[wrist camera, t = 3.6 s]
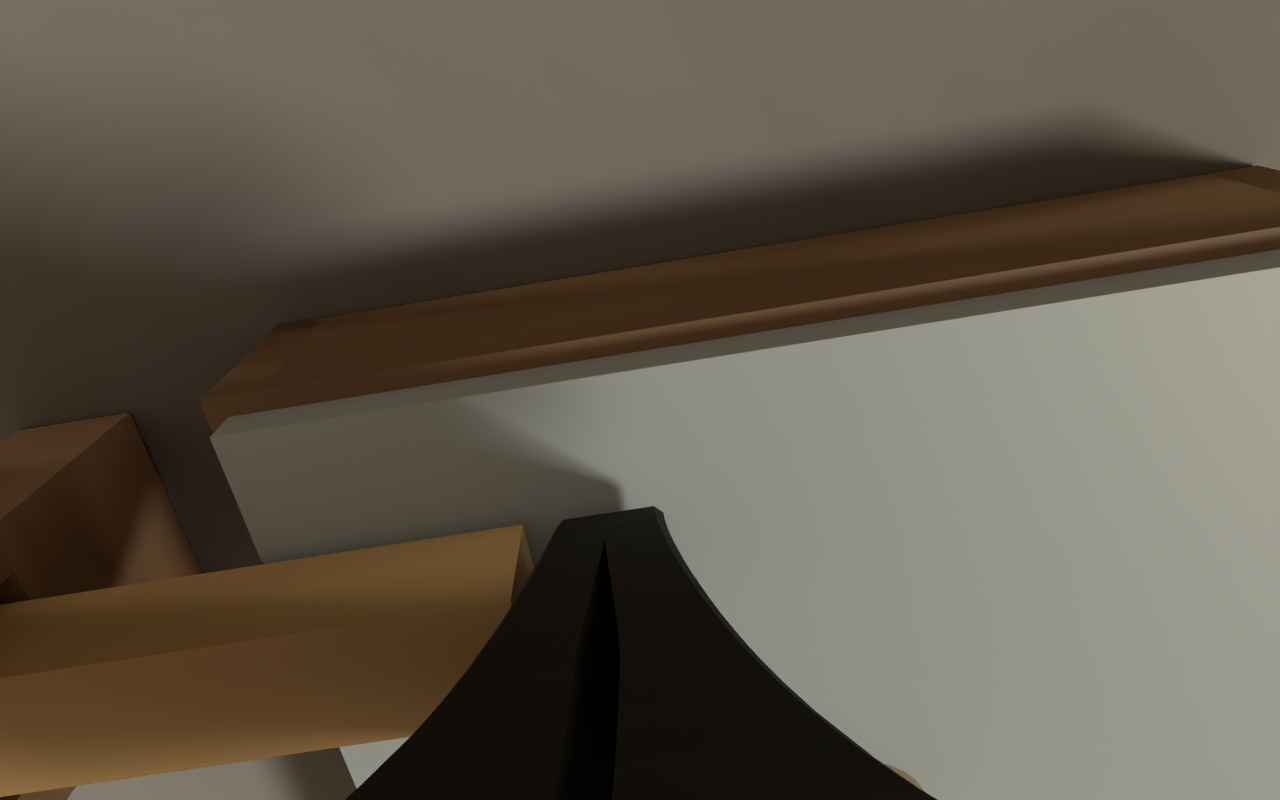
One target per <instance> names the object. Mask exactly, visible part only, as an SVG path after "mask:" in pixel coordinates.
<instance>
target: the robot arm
mask: <svg viewBox="0 0 1280 800" xmlns="http://www.w3.org/2000/svg"><path fill="white" fill-rule="evenodd" d="M345 800H938V799H936V798H934V797H932V796H931V795H929V794H927V793H926V792H924V791H923V790H921V789H919V788H918V787H916V786H915V785H914V784H912V783H911V782H909V781H908V780H906V779H905V778H903V777H902V776H901V775H899V774H898V773H896V772H895V771H893V770H892V769H890V768H889V767H887V766H886V765H885V764H883V763H882V762H880V761H879V760H877V759H876V758H874V757H873V756H872V755H871V754H869V753H868V752H867V751H865V750H864V749H863V748H862V747H860V746H859V745H858V744H857V743H855V742H854V741H853V740H852V739H850V738H849V737H848V736H847V735H845V734H844V733H843V732H841V731H840V730H839V729H838V728H836V727H835V726H834V725H833V724H831V723H830V722H829V721H828V720H826V719H825V718H824V717H822V716H821V715H820V714H819V713H817V712H816V711H815V710H814V709H813V708H811V707H810V706H809V705H808V704H807V703H806V702H805V701H804V700H803V699H802V698H800V697H799V696H798V695H797V694H796V693H795V692H794V691H793V690H792V689H791V688H790V687H788V686H787V685H786V684H785V683H784V682H783V681H782V680H781V679H780V678H779V677H778V676H777V675H776V674H775V673H774V672H773V671H772V670H771V669H770V668H769V667H768V666H767V665H766V664H765V663H764V662H763V661H762V660H761V659H760V658H759V657H758V656H757V655H756V653H755V652H754V651H753V650H752V649H751V648H750V647H749V646H748V645H747V644H746V642H745V641H744V640H743V639H742V638H741V637H740V636H739V634H738V633H737V632H736V631H735V630H734V628H733V627H732V626H731V625H730V624H729V622H728V621H727V620H726V619H725V617H724V616H723V615H722V614H721V613H720V611H719V610H718V609H717V607H716V606H715V605H714V603H713V602H712V601H711V599H710V598H709V597H708V595H707V594H706V592H705V591H704V589H703V588H702V586H701V585H700V584H699V582H698V581H697V579H696V578H695V576H694V575H693V573H692V572H691V570H690V569H689V567H688V566H687V564H686V562H685V561H684V559H683V557H682V556H681V554H680V552H679V550H678V548H677V547H676V545H675V543H674V541H673V539H672V537H671V535H670V532H669V530H668V528H667V525H666V522H665V518H664V513H663V512H662V511H661V510H659V509H658V508H656V507H655V506H651V507H644V508H638V509H631V510H624V511H618V512H611V513H604V514H598V515H591V516H585V517H578V518H571V519H565V520H562V522H561V523H560V524H559V525H558V527H557V528H556V530H555V532H554V534H553V535H552V537H551V539H550V541H549V543H548V545H547V547H546V549H545V550H544V552H543V554H542V556H541V558H540V559H539V561H538V563H537V565H536V566H535V568H534V570H533V572H532V573H531V575H530V577H529V578H528V580H527V582H526V584H525V585H524V587H523V588H522V590H521V592H520V593H519V595H518V596H517V598H516V599H515V601H514V603H513V604H512V606H511V607H510V609H509V611H508V612H507V614H506V615H505V617H504V618H503V620H502V621H501V623H500V624H499V626H498V627H497V629H496V630H495V632H494V633H493V634H492V636H491V637H490V639H489V640H488V641H487V643H486V644H485V646H484V647H483V648H482V650H481V651H480V653H479V654H478V655H477V657H476V658H475V659H474V661H473V662H472V664H471V665H470V666H469V668H468V669H467V670H466V672H465V673H464V674H463V676H462V677H461V678H460V679H459V681H458V682H457V683H456V684H455V686H454V687H453V688H452V689H451V691H450V692H449V693H448V694H447V696H446V697H445V698H444V699H443V700H442V702H441V703H440V704H439V705H438V706H437V707H436V709H435V710H434V711H433V712H432V713H431V714H430V715H429V717H428V718H427V719H426V720H425V721H424V722H423V723H422V725H421V726H420V727H419V728H418V729H417V730H416V731H415V732H414V733H413V734H412V735H411V736H410V738H409V739H407V740H406V741H405V742H404V743H403V744H402V745H401V746H400V747H399V748H398V749H397V750H396V751H395V752H394V753H393V754H392V755H391V756H390V757H389V758H388V759H387V760H386V761H385V762H384V763H383V764H382V765H381V766H380V767H379V768H378V769H377V770H376V771H375V772H374V773H373V774H372V775H371V776H370V777H369V778H368V779H366V780H365V781H364V782H363V783H362V784H361V785H360V786H359V787H358V788H357V789H356V790H355V791H354V792H353V793H352V794H351V795H350V796H349V797H348V798H346V799H345Z"/></svg>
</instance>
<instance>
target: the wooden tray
mask: <svg viewBox="0 0 1280 800" xmlns="http://www.w3.org/2000/svg"><path fill="white" fill-rule="evenodd" d="M1278 249H1280V171H1279V170H1274V169H1270V168H1266V167H1261V166H1252V167H1246V168H1240V169H1234V170H1227V171H1221V172H1215V173H1209V174H1203V175H1197V176H1191V177H1184V178H1178V179H1172V180H1166V181H1160V182H1154V183H1147V184H1141V185H1135V186H1129V187H1123V188H1117V189H1111V190H1104V191H1098V192H1092V193H1086V194H1080V195H1074V196H1068V197H1061V198H1055V199H1049V200H1043V201H1037V202H1031V203H1025V204H1018V205H1012V206H1006V207H1000V208H994V209H988V210H981V211H975V212H969V213H963V214H957V215H951V216H945V217H938V218H932V219H926V220H920V221H914V222H908V223H902V224H895V225H889V226H883V227H877V228H871V229H865V230H859V231H852V232H846V233H840V234H834V235H828V236H822V237H816V238H809V239H803V240H797V241H791V242H785V243H779V244H772V245H766V246H760V247H754V248H748V249H742V250H736V251H729V252H723V253H717V254H711V255H705V256H699V257H693V258H686V259H680V260H674V261H668V262H662V263H656V264H650V265H643V266H637V267H631V268H625V269H619V270H613V271H607V272H600V273H594V274H588V275H582V276H576V277H570V278H563V279H557V280H551V281H545V282H539V283H533V284H527V285H520V286H514V287H508V288H502V289H496V290H490V291H484V292H477V293H471V294H465V295H459V296H453V297H447V298H441V299H434V300H428V301H422V302H416V303H410V304H404V305H398V306H391V307H385V308H379V309H373V310H367V311H361V312H354V313H348V314H342V315H336V316H330V317H324V318H318V319H311V320H305V321H299V322H293V323H287V324H281V325H278V326H277V327H276V328H275V329H274V330H273V331H272V332H270V333H269V334H268V335H267V336H266V337H265V338H264V339H263V340H262V341H261V342H260V343H259V344H258V345H257V346H256V347H255V348H254V349H253V350H251V351H250V352H249V353H248V354H247V355H246V356H245V357H244V358H243V359H242V360H241V361H240V362H239V363H238V364H237V365H236V366H235V367H233V368H232V369H231V370H230V371H229V372H228V373H227V374H226V375H225V376H224V377H223V378H222V379H221V380H220V381H219V382H218V383H217V384H215V385H214V386H213V387H212V388H211V389H210V390H209V391H208V392H207V393H206V394H205V395H204V396H203V397H202V398H201V399H200V400H199V403H200V405H201V407H202V410H203V412H204V415H205V417H206V419H207V422H208V424H209V427H210V429H211V431H212V434H213V433H214V432H215V431H216V430H217V429H218V428H219V427H220V426H221V425H222V424H223V423H224V421H225V420H226V419H227V418H228V417H232V416H238V415H244V414H251V413H257V412H263V411H269V410H276V409H282V408H288V407H294V406H301V405H307V404H313V403H320V402H326V401H332V400H338V399H345V398H351V397H357V396H363V395H370V394H376V393H382V392H388V391H395V390H401V389H407V388H414V387H420V386H426V385H432V384H439V383H445V382H451V381H457V380H464V379H470V378H476V377H482V376H489V375H495V374H501V373H507V372H514V371H520V370H526V369H533V368H539V367H545V366H551V365H558V364H564V363H570V362H576V361H583V360H589V359H595V358H601V357H608V356H614V355H620V354H627V353H633V352H639V351H645V350H652V349H658V348H664V347H670V346H677V345H683V344H689V343H695V342H702V341H708V340H714V339H721V338H727V337H733V336H739V335H746V334H752V333H758V332H764V331H771V330H777V329H783V328H789V327H796V326H802V325H808V324H815V323H821V322H827V321H833V320H840V319H846V318H852V317H858V316H865V315H871V314H877V313H883V312H890V311H896V310H902V309H909V308H915V307H921V306H927V305H934V304H940V303H946V302H952V301H959V300H965V299H971V298H977V297H984V296H990V295H996V294H1003V293H1009V292H1015V291H1021V290H1028V289H1034V288H1040V287H1046V286H1053V285H1059V284H1065V283H1071V282H1078V281H1084V280H1090V279H1097V278H1103V277H1109V276H1115V275H1122V274H1128V273H1134V272H1140V271H1147V270H1153V269H1159V268H1165V267H1172V266H1178V265H1184V264H1191V263H1197V262H1203V261H1209V260H1216V259H1222V258H1228V257H1234V256H1241V255H1247V254H1253V253H1259V252H1266V251H1272V250H1278ZM197 574H203V572H202V570H201V568H200V566H199V563H198V561H197V559H196V557H195V555H194V552H193V550H192V548H191V546H190V544H189V541H188V539H187V537H186V535H185V533H184V531H183V528H182V526H181V524H180V522H179V520H178V517H177V515H176V513H175V511H174V509H173V506H172V504H171V502H170V500H169V498H168V496H167V493H166V491H165V489H164V487H163V485H162V482H161V480H160V478H159V476H158V474H157V471H156V469H155V467H154V465H153V463H152V461H151V458H150V456H149V454H148V452H147V450H146V447H145V445H144V443H143V441H142V439H141V436H140V434H139V432H138V430H137V428H136V425H135V423H134V421H133V419H132V417H131V415H130V412H129V413H123V414H117V415H110V416H104V417H98V418H92V419H85V420H79V421H73V422H67V423H61V424H54V425H48V426H42V427H36V428H29V429H23V430H17V431H16V432H14V433H13V434H11V435H10V436H8V437H7V438H6V439H4V440H3V441H1V442H0V605H2V604H9V603H15V602H22V601H28V600H35V599H41V598H48V597H54V596H61V595H67V594H74V593H80V592H87V591H93V590H100V589H106V588H113V587H119V586H126V585H132V584H139V583H145V582H152V581H158V580H165V579H171V578H178V577H184V576H191V575H197ZM75 787H76V786H72V787H65V788H59V789H52V790H45V791H38V792H31V793H24V794H18V795H11V796H4V797H0V800H67V799H68V797H69V796H70V794H71V793H72V791H73V790H74V788H75Z"/></svg>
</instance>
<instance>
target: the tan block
mask: <svg viewBox="0 0 1280 800" xmlns="http://www.w3.org/2000/svg"><path fill="white" fill-rule="evenodd" d="M533 570H534V566H533V562H532V558H531V554H530V550H529V546H528V542H527V538H526V534H525V530H524V527H523V524H522V525H515V526H509V527H502V528H496V529H489V530H483V531H476V532H470V533H463V534H457V535H450V536H444V537H437V538H431V539H424V540H418V541H411V542H405V543H398V544H392V545H385V546H379V547H372V548H366V549H359V550H353V551H346V552H340V553H333V554H327V555H320V556H314V557H307V558H301V559H294V560H288V561H281V562H275V563H268V564H262V565H255V566H249V567H242V568H236V569H229V570H223V571H217V572H210V573H204V574H197V575H191V576H184V577H178V578H171V579H165V580H158V581H152V582H145V583H139V584H132V585H126V586H119V587H113V588H106V589H100V590H93V591H87V592H80V593H74V594H67V595H61V596H54V597H48V598H41V599H35V600H28V601H22V602H15V603H9V604H2V605H0V797H4V796H11V795H18V794H24V793H31V792H38V791H45V790H52V789H59V788H65V787H72V786H79V785H86V784H93V783H99V782H106V781H113V780H120V779H127V778H133V777H140V776H147V775H154V774H161V773H167V772H174V771H181V770H188V769H195V768H202V767H208V766H215V765H222V764H229V763H236V762H242V761H249V760H256V759H263V758H270V757H276V756H283V755H290V754H297V753H304V752H310V751H317V750H324V749H331V748H338V747H344V746H351V745H358V744H365V743H372V742H379V741H385V740H392V739H399V738H406V737H410V736H411V735H412V734H413V733H414V732H415V731H416V730H417V729H418V728H419V727H420V726H421V725H422V723H423V722H424V721H425V720H426V719H427V718H428V717H429V715H430V714H431V713H432V712H433V711H434V710H435V709H436V707H437V706H438V705H439V704H440V703H441V702H442V700H443V699H444V698H445V697H446V696H447V694H448V693H449V692H450V691H451V689H452V688H453V687H454V686H455V684H456V683H457V682H458V681H459V679H460V678H461V677H462V676H463V674H464V673H465V672H466V670H467V669H468V668H469V666H470V665H471V664H472V662H473V661H474V659H475V658H476V657H477V655H478V654H479V653H480V651H481V650H482V648H483V647H484V646H485V644H486V643H487V641H488V640H489V639H490V637H491V636H492V634H493V633H494V632H495V630H496V629H497V627H498V626H499V624H500V623H501V621H502V620H503V618H504V617H505V615H506V614H507V612H508V611H509V609H510V607H511V606H512V604H513V603H514V601H515V599H516V598H517V596H518V595H519V593H520V592H521V590H522V588H523V587H524V585H525V584H526V582H527V580H528V578H529V577H530V575H531V573H532V572H533Z"/></svg>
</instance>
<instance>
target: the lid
mask: <svg viewBox="0 0 1280 800" xmlns="http://www.w3.org/2000/svg"><path fill="white" fill-rule="evenodd" d="M210 440H211V442H212V444H213V447H214V449H215V452H216V454H217V456H218V459H219V461H220V464H221V466H222V468H223V471H224V473H225V475H226V478H227V480H228V483H229V485H230V487H231V490H232V492H233V495H234V497H235V499H236V502H237V504H238V507H239V509H240V511H241V514H242V516H243V519H244V521H245V523H246V526H247V528H248V530H249V533H250V535H251V538H252V540H253V542H254V545H255V547H256V550H257V552H258V554H259V557H260V559H261V562H262V564H268V563H275V562H281V561H288V560H294V559H301V558H307V557H314V556H320V555H327V554H333V553H340V552H346V551H353V550H359V549H366V548H372V547H379V546H385V545H392V544H398V543H405V542H411V541H418V540H424V539H431V538H437V537H444V536H450V535H457V534H463V533H470V532H476V531H483V530H489V529H496V528H502V527H509V526H515V525H522V524H523V527H524V530H525V534H526V538H527V542H528V546H529V550H530V554H531V558H532V562H533V566H534V568H535V566H536V565H537V563H538V561H539V559H540V558H541V556H542V554H543V552H544V550H545V549H546V547H547V545H548V543H549V541H550V539H551V537H552V535H553V534H554V532H555V530H556V528H557V527H558V525H559V524H560V523H561V522H562V520H565V519H571V518H578V517H585V516H591V515H598V514H604V513H611V512H618V511H624V510H631V509H638V508H644V507H651V506H655V507H656V508H658V509H659V510H661V511H662V512H663V513H664V518H665V522H666V525H667V528H668V530H669V532H670V535H671V537H672V539H673V541H674V543H675V545H676V547H677V548H678V550H679V552H680V554H681V556H682V557H683V559H684V561H685V562H686V564H687V566H688V567H689V569H690V570H691V572H692V573H693V575H694V576H695V578H696V579H697V581H698V582H699V584H700V585H701V586H702V588H703V589H704V591H705V592H706V594H707V595H708V597H709V598H710V599H711V601H712V602H713V603H714V605H715V606H716V607H717V609H718V610H719V611H720V613H721V614H722V615H723V616H724V617H725V619H726V620H727V621H728V622H729V624H730V625H731V626H732V627H733V628H734V630H735V631H736V632H737V633H738V634H739V636H740V637H741V638H742V639H743V640H744V641H745V642H746V644H747V645H748V646H749V647H750V648H751V649H752V650H753V651H754V652H755V653H756V655H757V656H758V657H759V658H760V659H761V660H762V661H763V662H764V663H765V664H766V665H767V666H768V667H769V668H770V669H771V670H772V671H773V672H774V673H775V674H776V675H777V676H778V677H779V678H780V679H781V680H782V681H783V682H784V683H785V684H786V685H787V686H788V687H790V688H791V689H792V690H793V691H794V692H795V693H796V694H797V695H798V696H799V697H800V698H802V699H803V700H804V701H805V702H806V703H807V704H808V705H809V706H810V707H811V708H813V709H814V710H815V711H816V712H817V713H819V714H820V715H821V716H822V717H824V718H825V719H826V720H828V721H829V722H830V723H831V724H833V725H834V726H835V727H836V728H838V729H839V730H840V731H841V732H843V733H844V734H845V735H847V736H848V737H849V738H850V739H852V740H853V741H854V742H855V743H857V744H858V745H859V746H860V747H862V748H863V749H864V750H865V751H867V752H868V753H869V754H871V755H872V756H873V757H874V758H876V759H877V760H879V761H880V762H882V763H883V764H885V765H886V766H887V767H889V768H890V769H892V770H893V771H895V772H896V773H898V774H899V775H901V776H902V777H903V778H905V779H906V780H908V781H909V782H911V783H912V784H914V785H915V786H916V787H918V788H919V789H921V790H923V791H924V792H926V793H927V794H929V795H931V796H932V797H934V798H936V799H938V800H1280V249H1278V250H1272V251H1266V252H1259V253H1253V254H1247V255H1241V256H1234V257H1228V258H1222V259H1216V260H1209V261H1203V262H1197V263H1191V264H1184V265H1178V266H1172V267H1165V268H1159V269H1153V270H1147V271H1140V272H1134V273H1128V274H1122V275H1115V276H1109V277H1103V278H1097V279H1090V280H1084V281H1078V282H1071V283H1065V284H1059V285H1053V286H1046V287H1040V288H1034V289H1028V290H1021V291H1015V292H1009V293H1003V294H996V295H990V296H984V297H977V298H971V299H965V300H959V301H952V302H946V303H940V304H934V305H927V306H921V307H915V308H909V309H902V310H896V311H890V312H883V313H877V314H871V315H865V316H858V317H852V318H846V319H840V320H833V321H827V322H821V323H815V324H808V325H802V326H796V327H789V328H783V329H777V330H771V331H764V332H758V333H752V334H746V335H739V336H733V337H727V338H721V339H714V340H708V341H702V342H695V343H689V344H683V345H677V346H670V347H664V348H658V349H652V350H645V351H639V352H633V353H627V354H620V355H614V356H608V357H601V358H595V359H589V360H583V361H576V362H570V363H564V364H558V365H551V366H545V367H539V368H533V369H526V370H520V371H514V372H507V373H501V374H495V375H489V376H482V377H476V378H470V379H464V380H457V381H451V382H445V383H439V384H432V385H426V386H420V387H414V388H407V389H401V390H395V391H388V392H382V393H376V394H370V395H363V396H357V397H351V398H345V399H338V400H332V401H326V402H320V403H313V404H307V405H301V406H294V407H288V408H282V409H276V410H269V411H263V412H257V413H251V414H244V415H238V416H232V417H228V418H227V419H226V420H225V421H224V423H223V424H222V425H221V426H220V427H219V428H218V429H217V430H216V431H215V432H214V433H213V434H212V435H211V436H210ZM409 738H410V737H406V738H399V739H392V740H385V741H379V742H372V743H365V744H358V745H351V746H344V747H339V748H340V750H341V753H342V755H343V758H344V760H345V762H346V765H347V767H348V770H349V772H350V774H351V777H352V779H353V781H354V784H355V786H356V789H357V788H358V787H359V786H360V785H361V784H362V783H363V782H364V781H365V780H366V779H368V778H369V777H370V776H371V775H372V774H373V773H374V772H375V771H376V770H377V769H378V768H379V767H380V766H381V765H382V764H383V763H384V762H385V761H386V760H387V759H388V758H389V757H390V756H391V755H392V754H393V753H394V752H395V751H396V750H397V749H398V748H399V747H400V746H401V745H402V744H403V743H404V742H405V741H406V740H407V739H409Z"/></svg>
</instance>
